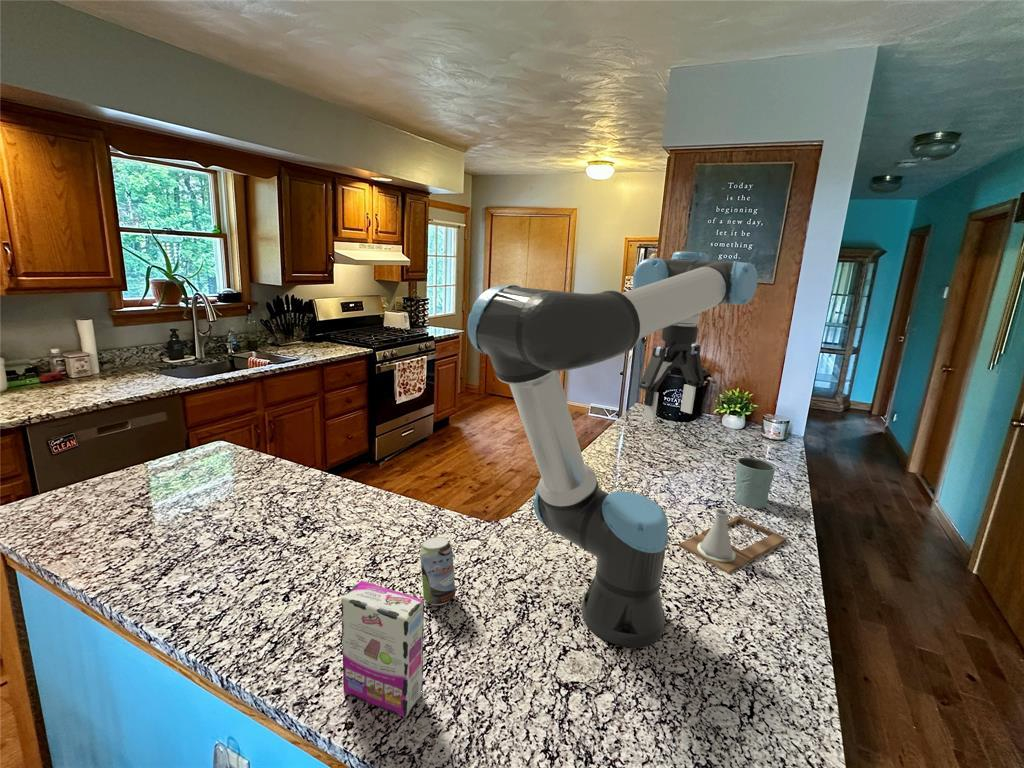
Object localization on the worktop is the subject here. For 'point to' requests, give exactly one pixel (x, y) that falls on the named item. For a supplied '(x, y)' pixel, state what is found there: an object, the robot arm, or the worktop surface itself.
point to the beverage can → (437, 570)
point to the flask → (718, 537)
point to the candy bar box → (383, 647)
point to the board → (738, 555)
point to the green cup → (753, 482)
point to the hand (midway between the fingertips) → (668, 415)
